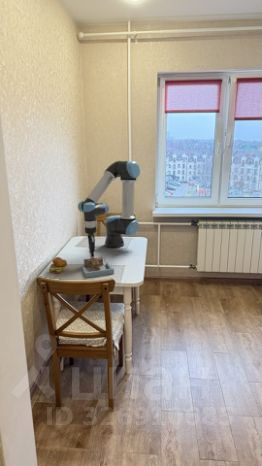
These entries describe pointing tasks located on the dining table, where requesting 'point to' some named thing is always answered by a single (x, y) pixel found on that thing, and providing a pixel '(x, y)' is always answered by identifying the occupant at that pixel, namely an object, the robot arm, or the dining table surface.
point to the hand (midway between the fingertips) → (92, 260)
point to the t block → (94, 263)
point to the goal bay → (100, 272)
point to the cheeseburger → (57, 265)
